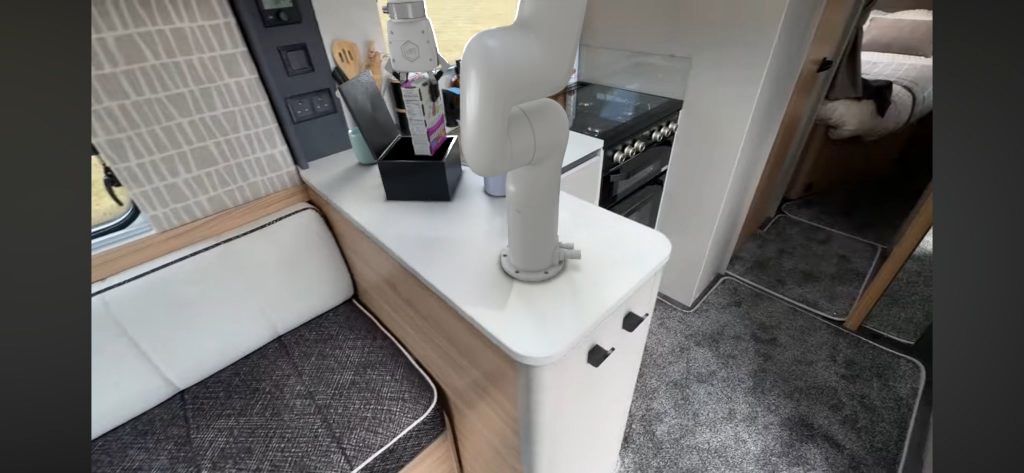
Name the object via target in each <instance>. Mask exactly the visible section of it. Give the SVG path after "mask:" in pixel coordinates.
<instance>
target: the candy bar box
mask: <svg viewBox="0 0 1024 473" xmlns="http://www.w3.org/2000/svg"><path fill="white" fill-rule="evenodd" d="M430 84H431V80H430V78H429V76H428V74H427V73H419V74H418V75H416V76H414V77H413V78H411V79H409V82H407V83H406V84H404V85H403V86H402V85H401V86H400V92H401V96H402V102H403V106H404V110H405V115H406V119H407V124H408V130H409V133H410V134H409V135H410V136H411V139H412V144H413V148H414V153H415V155H426V156H432V155H433V154H434V153H435V152H436V151H437V150H438V149H439V147H440V146H441V145H442V144H443V143H444V141H445V140H446V139H447V136H448V135H447V129H446V124H445V117H444V111H443V103H442V97H441V92H440V90H439V94H440V96H439V97H438V99H437V101H436V102H432V98H431V92H430ZM438 87H439V88H440V84H439V83H438Z"/></svg>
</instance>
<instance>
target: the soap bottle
mask: <svg viewBox="0 0 1024 473" xmlns="http://www.w3.org/2000/svg"><path fill="white" fill-rule="evenodd" d="M507 173H508V172H507ZM507 173H504V174H501V175H498V176H494V177H483V186H484V190H485V192H486V193H487V194H488V195H490V196H494V197H504V196H505V197H506V190H505V186H506V177H507Z"/></svg>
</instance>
